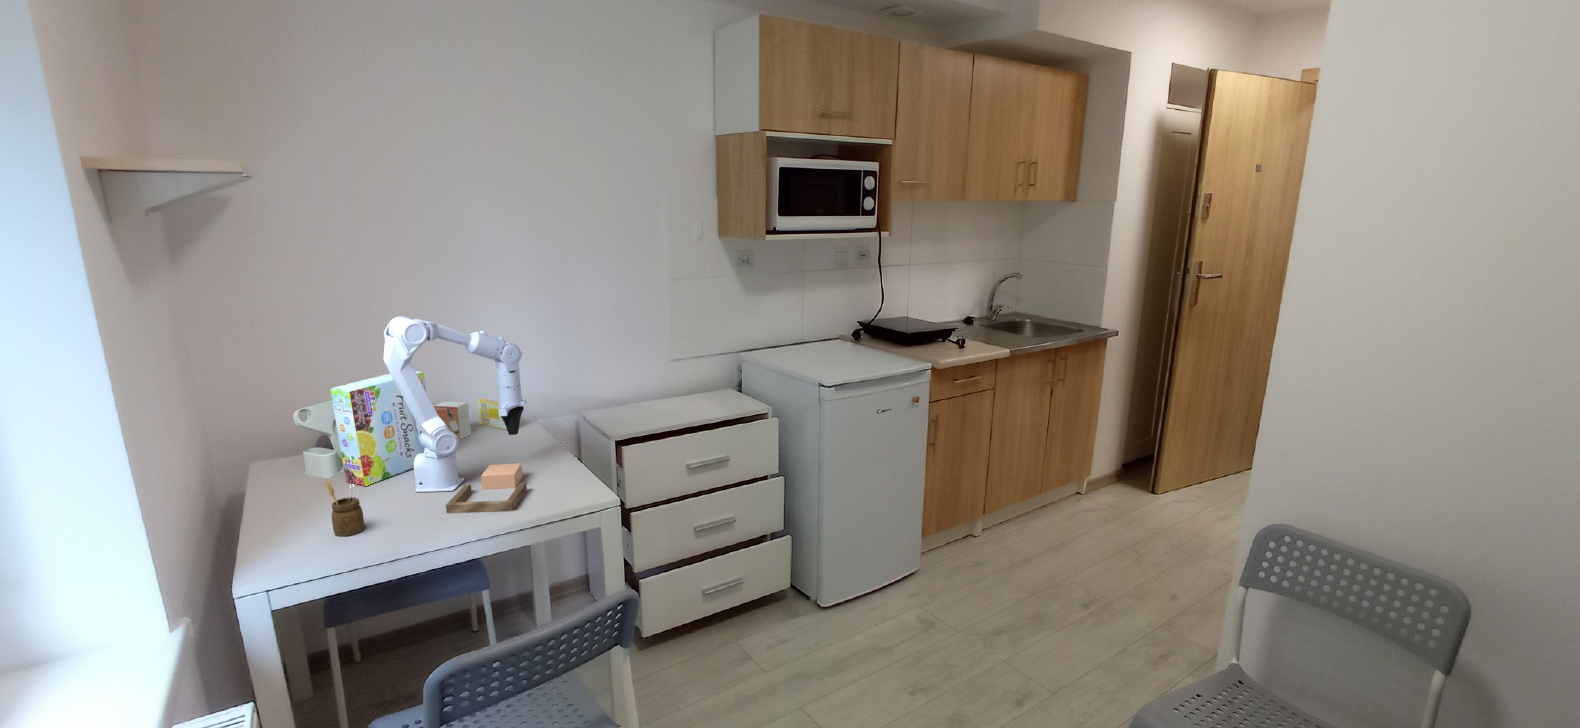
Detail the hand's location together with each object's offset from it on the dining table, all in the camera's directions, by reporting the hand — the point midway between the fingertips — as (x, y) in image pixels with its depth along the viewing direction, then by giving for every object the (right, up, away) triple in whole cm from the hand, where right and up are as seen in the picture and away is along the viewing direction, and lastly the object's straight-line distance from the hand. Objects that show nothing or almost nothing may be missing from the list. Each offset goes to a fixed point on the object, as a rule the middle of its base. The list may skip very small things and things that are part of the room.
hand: (513, 434), depth 199 cm
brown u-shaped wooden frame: (+2, -14, -20) cm, 25 cm away
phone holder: (-48, -9, +3) cm, 49 cm away
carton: (+1, -12, -10) cm, 15 cm away
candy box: (-19, -1, +37) cm, 42 cm away
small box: (-29, -4, +27) cm, 40 cm away
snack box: (-32, -10, -1) cm, 34 cm away
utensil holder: (-23, -18, -37) cm, 47 cm away
